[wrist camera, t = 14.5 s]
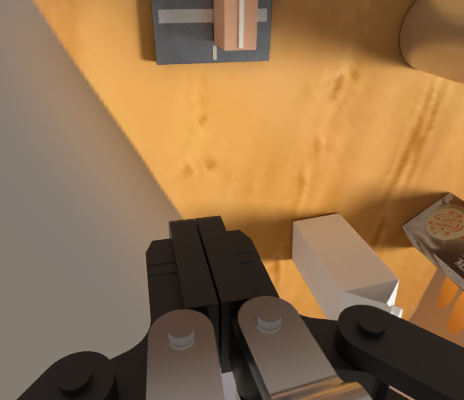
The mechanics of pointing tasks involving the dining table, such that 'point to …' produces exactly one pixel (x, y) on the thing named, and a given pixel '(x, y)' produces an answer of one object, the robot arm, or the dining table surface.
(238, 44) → the fader terracotta
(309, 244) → the milk carton
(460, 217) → the coffee box
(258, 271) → the robot arm
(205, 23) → the console board
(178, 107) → the dining table surface
